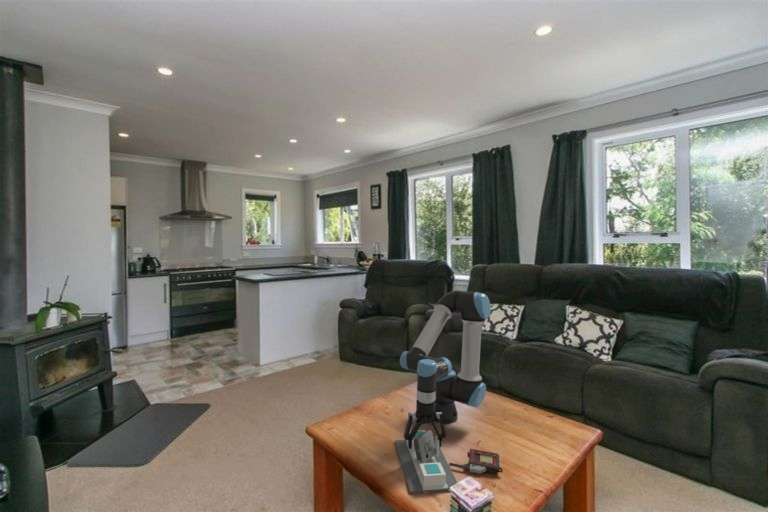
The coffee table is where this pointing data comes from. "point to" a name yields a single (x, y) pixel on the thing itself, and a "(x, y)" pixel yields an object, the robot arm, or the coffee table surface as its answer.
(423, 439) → the electrical switch
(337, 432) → the coffee table surface
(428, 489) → the rail board
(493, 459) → the walkie-talkie
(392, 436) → the coffee table surface
